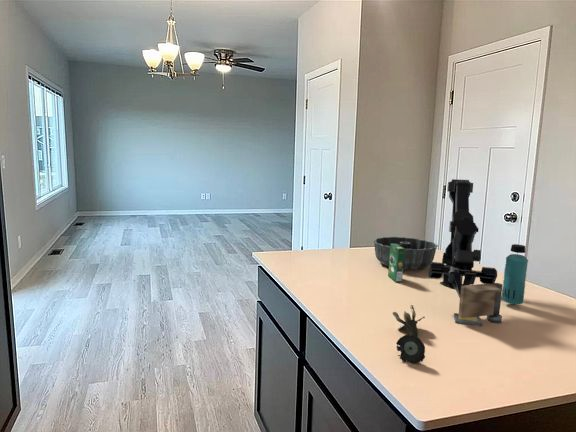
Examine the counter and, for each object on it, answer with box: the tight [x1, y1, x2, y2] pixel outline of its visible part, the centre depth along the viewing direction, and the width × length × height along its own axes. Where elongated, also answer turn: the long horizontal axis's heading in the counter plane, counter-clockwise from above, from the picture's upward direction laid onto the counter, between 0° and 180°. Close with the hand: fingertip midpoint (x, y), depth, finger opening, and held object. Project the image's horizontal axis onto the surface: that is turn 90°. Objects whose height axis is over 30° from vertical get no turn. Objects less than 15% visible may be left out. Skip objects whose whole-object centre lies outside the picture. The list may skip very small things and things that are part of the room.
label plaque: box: [453, 312, 483, 327], centre depth 126 cm, size 7×6×1 cm
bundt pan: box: [372, 236, 439, 271], centre depth 185 cm, size 26×26×10 cm
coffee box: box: [387, 243, 405, 283], centre depth 163 cm, size 8×3×13 cm, turn 8°
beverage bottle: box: [501, 243, 529, 305], centre depth 138 cm, size 6×7×20 cm
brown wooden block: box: [458, 282, 503, 318], centre depth 122 cm, size 13×7×10 cm, turn 106°
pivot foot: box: [485, 313, 503, 324], centre depth 127 cm, size 4×4×2 cm
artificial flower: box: [390, 305, 426, 364], centre depth 110 cm, size 9×22×10 cm, turn 159°
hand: (461, 298), depth 127 cm, fingers closed
